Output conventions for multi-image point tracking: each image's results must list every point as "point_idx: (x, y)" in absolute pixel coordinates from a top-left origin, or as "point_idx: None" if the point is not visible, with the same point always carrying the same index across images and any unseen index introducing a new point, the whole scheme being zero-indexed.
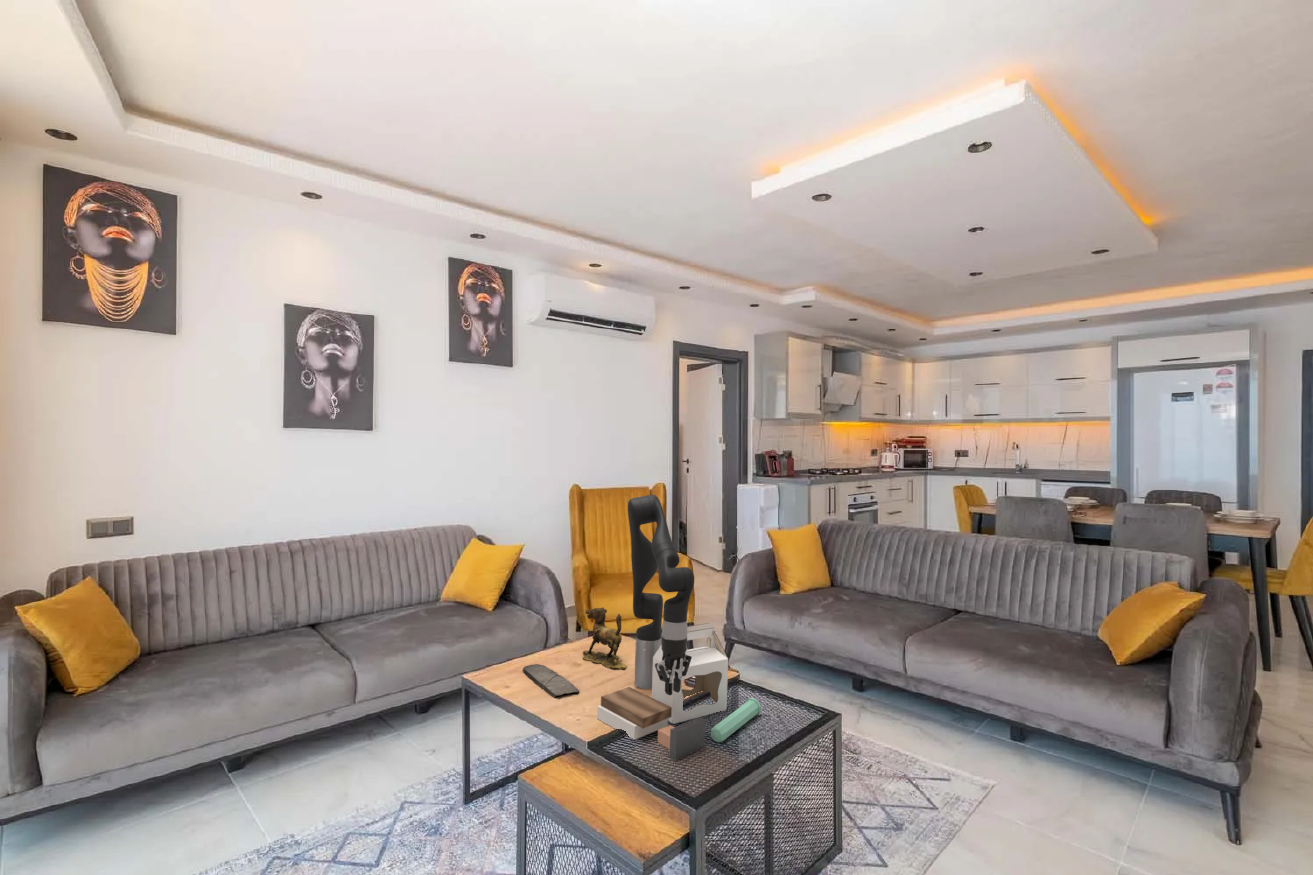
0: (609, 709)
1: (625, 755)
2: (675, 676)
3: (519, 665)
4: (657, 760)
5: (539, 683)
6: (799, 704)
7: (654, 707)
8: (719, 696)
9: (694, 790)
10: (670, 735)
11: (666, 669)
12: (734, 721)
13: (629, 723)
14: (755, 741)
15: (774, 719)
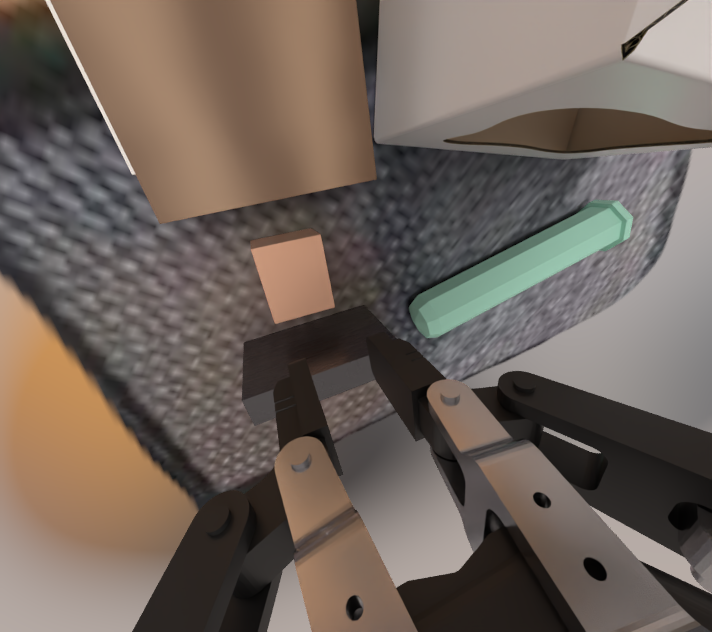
0: None
1: (68, 280)
2: (431, 422)
3: None
4: (195, 347)
5: None
6: (666, 233)
7: (292, 124)
8: (595, 152)
9: (234, 474)
10: (243, 385)
11: (344, 602)
12: (497, 304)
13: (106, 121)
14: (477, 340)
15: (581, 271)
